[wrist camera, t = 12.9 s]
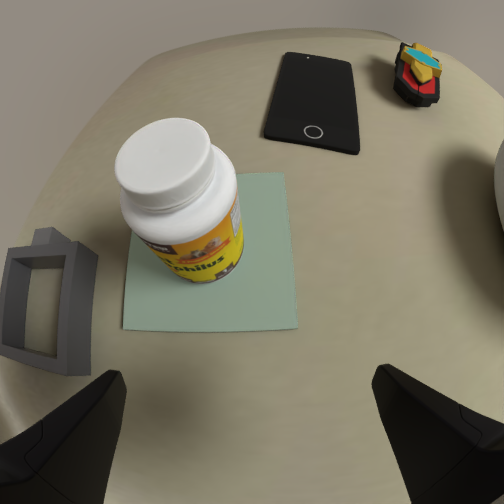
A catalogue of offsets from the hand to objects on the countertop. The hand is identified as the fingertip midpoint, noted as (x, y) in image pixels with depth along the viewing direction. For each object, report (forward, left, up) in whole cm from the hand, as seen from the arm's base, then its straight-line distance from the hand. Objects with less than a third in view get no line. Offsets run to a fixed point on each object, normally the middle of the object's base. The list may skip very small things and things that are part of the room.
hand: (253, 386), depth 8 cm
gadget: (+31, -23, -9) cm, 39 cm away
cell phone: (+27, -8, -9) cm, 29 cm away
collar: (+4, +17, -9) cm, 20 cm away
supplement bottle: (+8, +3, -9) cm, 12 cm away
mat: (+9, +3, -9) cm, 13 cm away
